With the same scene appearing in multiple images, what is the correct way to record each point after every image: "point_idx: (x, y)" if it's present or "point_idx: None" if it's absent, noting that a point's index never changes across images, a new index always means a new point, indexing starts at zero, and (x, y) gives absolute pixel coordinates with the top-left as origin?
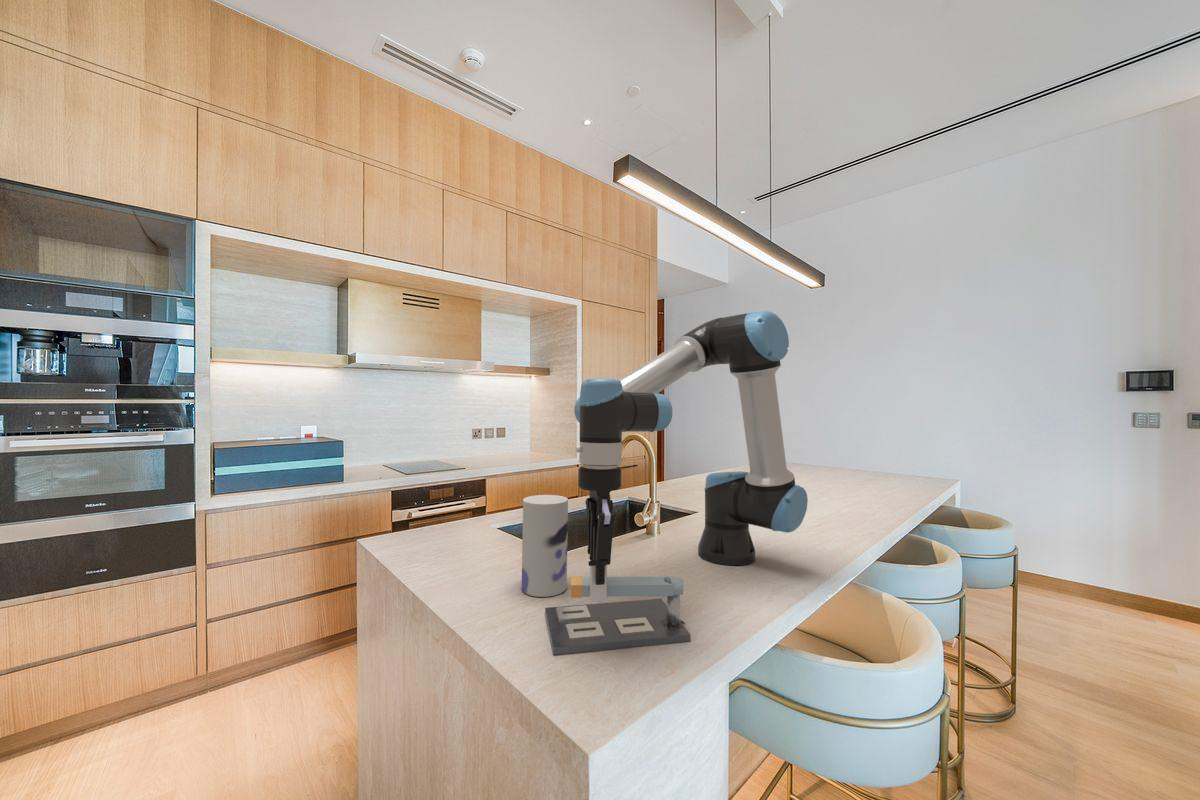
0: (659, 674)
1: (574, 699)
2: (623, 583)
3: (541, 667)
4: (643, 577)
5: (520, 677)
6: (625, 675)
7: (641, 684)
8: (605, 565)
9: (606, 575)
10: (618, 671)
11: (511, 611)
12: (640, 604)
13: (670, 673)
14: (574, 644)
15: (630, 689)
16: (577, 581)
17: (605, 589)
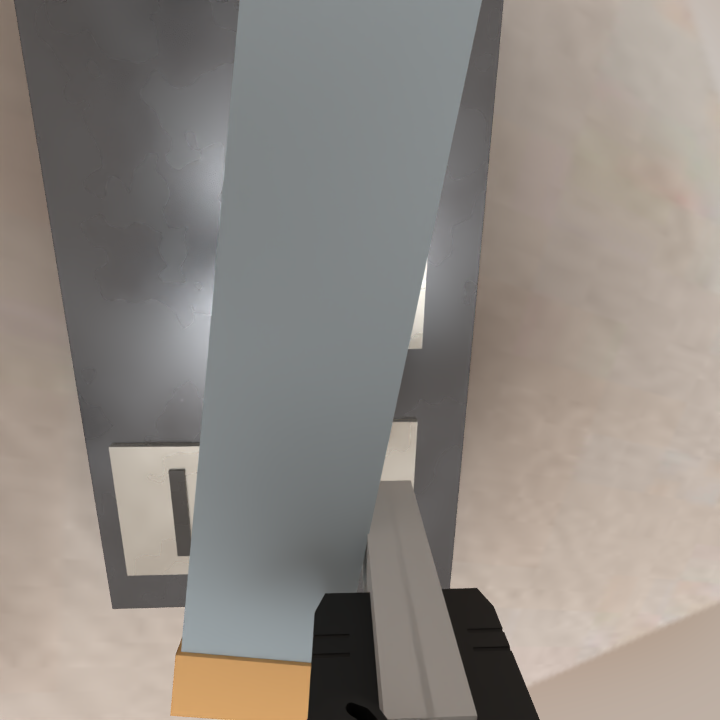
0: (670, 258)
1: (678, 545)
2: (361, 392)
3: (498, 613)
4: (250, 161)
5: (529, 663)
6: (629, 381)
7: (696, 342)
8: (469, 712)
9: (445, 609)
10: (599, 398)
11: (93, 692)
12: (97, 140)
13: (681, 213)
14: (445, 534)
15: (704, 385)
16: (271, 689)
17: (423, 533)
